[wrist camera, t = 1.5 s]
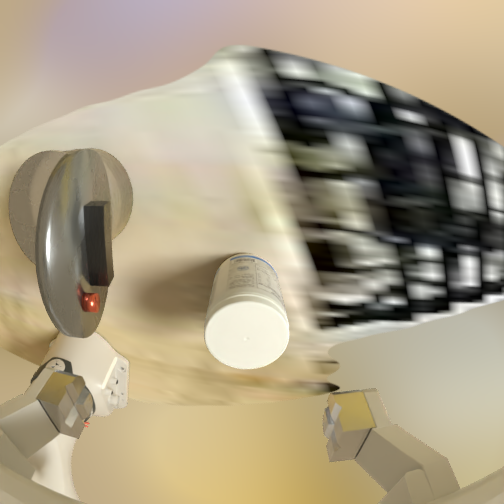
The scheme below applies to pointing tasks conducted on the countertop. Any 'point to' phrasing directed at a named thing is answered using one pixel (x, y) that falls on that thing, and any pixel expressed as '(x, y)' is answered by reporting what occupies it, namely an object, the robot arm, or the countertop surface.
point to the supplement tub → (246, 314)
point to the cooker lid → (75, 243)
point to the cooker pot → (32, 187)
